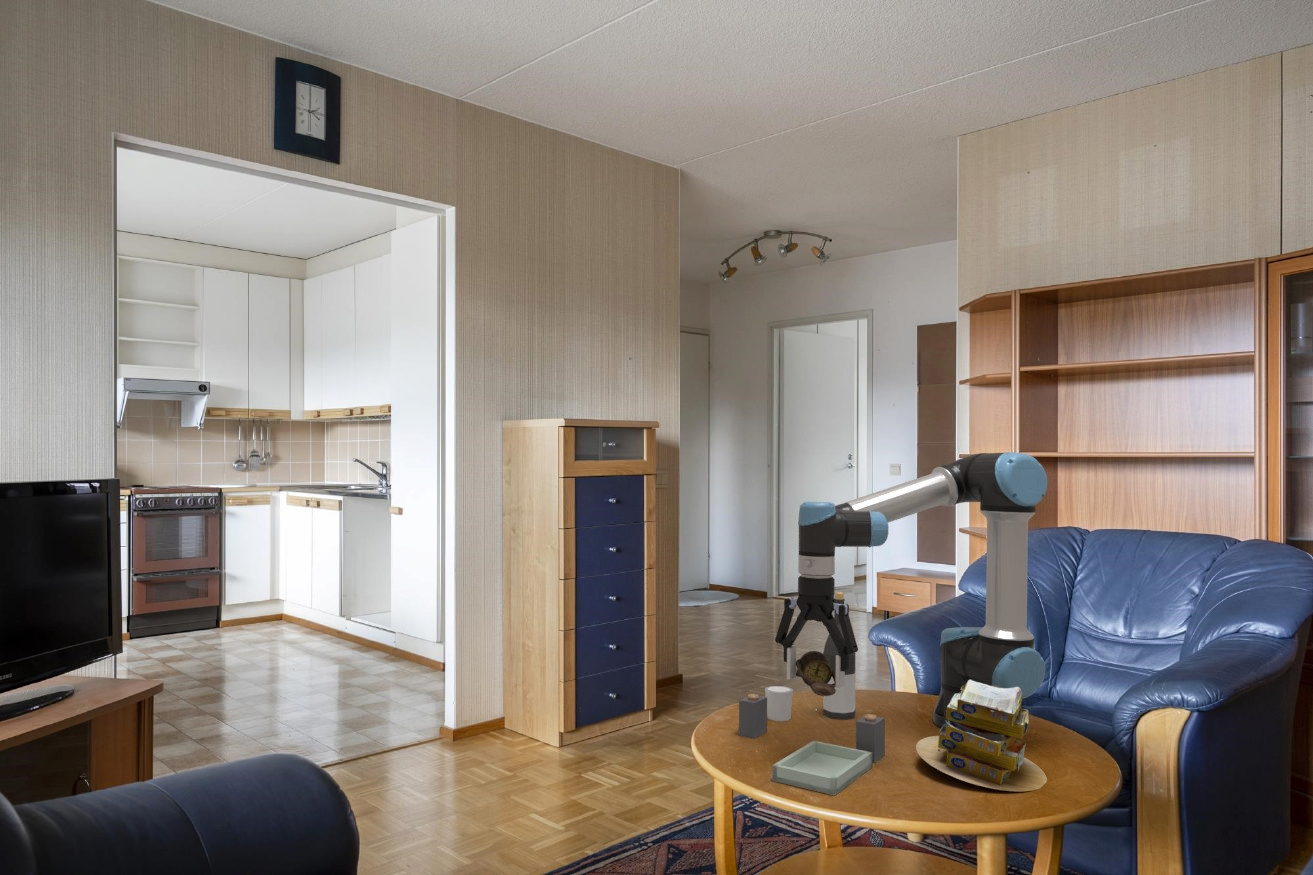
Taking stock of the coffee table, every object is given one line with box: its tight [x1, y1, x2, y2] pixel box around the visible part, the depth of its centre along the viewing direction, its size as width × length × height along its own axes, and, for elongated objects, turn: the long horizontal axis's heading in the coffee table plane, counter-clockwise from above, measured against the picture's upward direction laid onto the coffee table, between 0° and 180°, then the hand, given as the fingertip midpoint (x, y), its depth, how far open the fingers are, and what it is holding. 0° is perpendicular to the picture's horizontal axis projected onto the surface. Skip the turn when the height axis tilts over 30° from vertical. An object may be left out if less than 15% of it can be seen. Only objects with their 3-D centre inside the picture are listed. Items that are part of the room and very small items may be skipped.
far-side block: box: [738, 693, 768, 739], centre depth 201 cm, size 4×6×9 cm, turn 145°
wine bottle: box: [822, 591, 856, 720], centre depth 217 cm, size 8×8×30 cm
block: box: [855, 713, 886, 765], centre depth 185 cm, size 4×6×9 cm, turn 145°
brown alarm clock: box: [796, 650, 836, 697], centre depth 183 cm, size 7×13×10 cm
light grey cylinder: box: [764, 685, 794, 722], centre depth 214 cm, size 7×7×7 cm
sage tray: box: [771, 740, 873, 796], centre depth 175 cm, size 13×19×3 cm
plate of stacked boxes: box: [915, 680, 1048, 792], centre depth 178 cm, size 25×25×17 cm
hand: (815, 682), depth 183 cm, fingers closed on brown alarm clock, 10 cm apart
